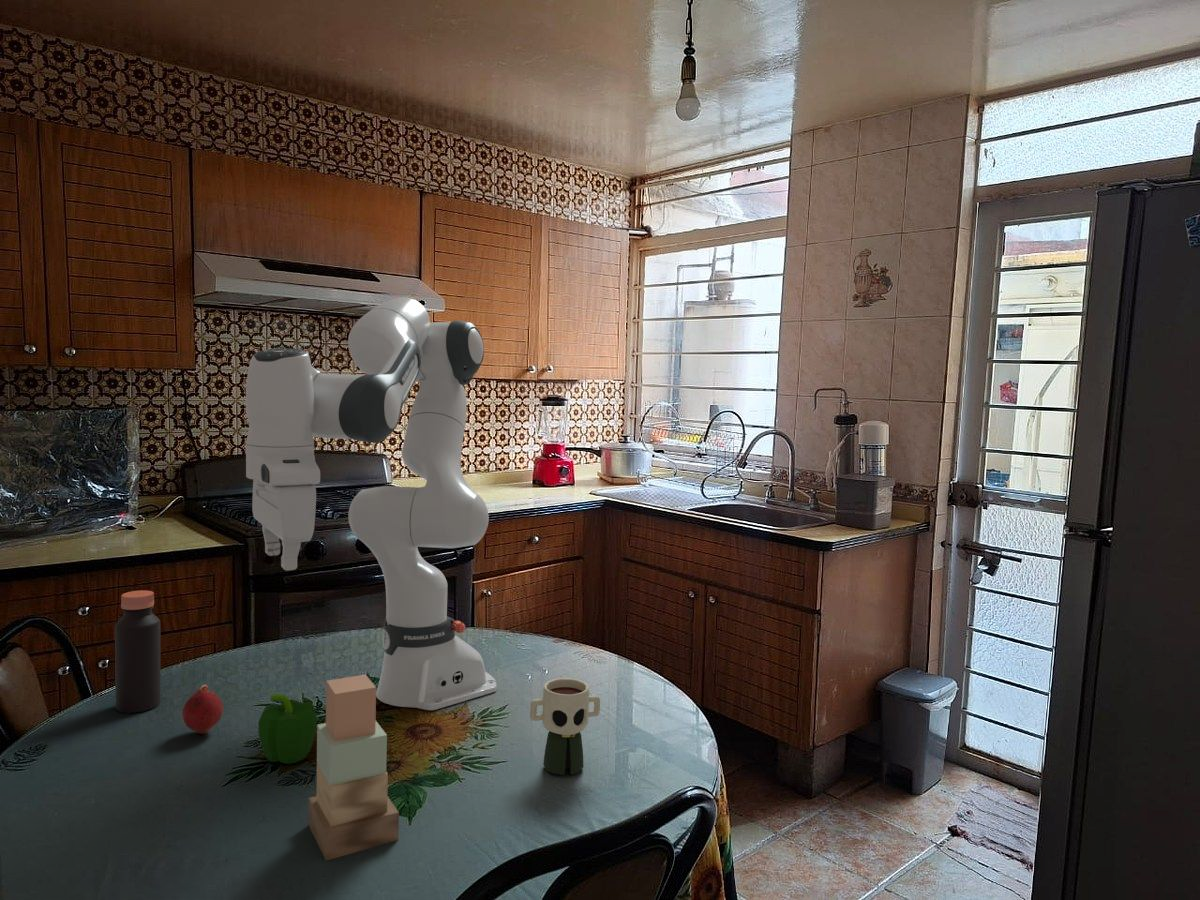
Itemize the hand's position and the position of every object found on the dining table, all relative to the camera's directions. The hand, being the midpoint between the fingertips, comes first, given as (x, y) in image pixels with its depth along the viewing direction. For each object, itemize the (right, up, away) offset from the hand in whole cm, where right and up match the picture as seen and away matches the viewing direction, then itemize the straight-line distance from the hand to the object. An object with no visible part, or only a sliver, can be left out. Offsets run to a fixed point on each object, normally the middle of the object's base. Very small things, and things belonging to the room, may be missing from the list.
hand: (280, 561), depth 111 cm
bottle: (-36, -29, +26) cm, 53 cm away
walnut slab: (+13, -34, -10) cm, 38 cm away
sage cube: (+13, -25, -10) cm, 30 cm away
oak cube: (+13, -30, -10) cm, 34 cm away
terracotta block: (+13, -20, -11) cm, 26 cm away
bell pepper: (-3, -32, +10) cm, 33 cm away
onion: (-19, -31, +17) cm, 40 cm away
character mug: (+40, -33, +10) cm, 53 cm away
